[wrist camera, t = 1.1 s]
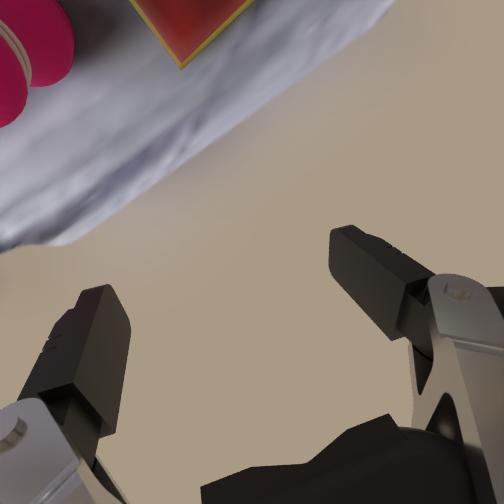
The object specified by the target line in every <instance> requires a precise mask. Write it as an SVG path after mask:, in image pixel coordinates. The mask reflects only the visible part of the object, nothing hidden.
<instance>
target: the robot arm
mask: <svg viewBox="0 0 504 504" xmlns="http://www.w3.org/2000/svg"><path fill="white" fill-rule="evenodd" d="M329 269H330V272H331V274H332V276H333V278H334V279H335V280H336V281H337V282H338V283H339V284H340V286H341V287H343V289H344V290H345V291H346V292H347V293H348V294H349V295H350V296H351V298H352V299H353V300H354V301H355V302H356V303H357V304H358V305H359V306H360V307H361V308H362V310H363V311H364V312H365V313H366V314H367V315H368V316H369V317H370V318H371V319H372V320H373V322H374V323H375V324H376V325H377V326H378V327H379V328H380V329H381V330H382V331H383V332H384V333H385V335H386V336H387V337H388V338H389V339H390V340H391V341H393V340H396V339H399V338H402V337H406V338H407V339H409V341H410V342H409V345H408V354H409V363H410V373H411V382H412V392H413V415H412V427H411V428H410V427H398V426H397V424H396V423H395V422H394V420H393V419H392V417H391V416H390V414H386V415H383V416H380V417H378V418H375V419H373V420H370V421H368V422H365V423H362V424H360V425H357V426H355V427H352V428H350V429H347V430H346V431H345V432H344V433H342V434H341V435H340V436H339V437H337V438H336V439H335V440H334V441H333V442H332V443H331V444H329V445H328V446H327V447H326V448H325V449H323V450H322V451H321V452H320V453H319V454H318V455H316V456H315V457H314V458H313V459H312V460H310V461H309V462H307V463H304V464H295V465H294V464H293V465H277V466H259V467H250V468H247V469H245V470H242V471H240V472H237V473H234V474H232V475H229V476H227V477H224V478H222V479H219V480H217V481H214V482H211V483H209V484H206V485H204V486H201V487H200V489H201V501H202V504H504V287H484V286H483V285H482V284H480V283H479V282H477V281H475V280H473V279H470V278H468V277H465V276H461V275H456V274H438V275H436V274H434V273H433V272H431V271H430V270H428V269H427V268H425V267H424V266H422V265H421V264H419V263H418V262H416V261H415V260H413V259H412V258H410V257H409V256H407V255H406V254H404V253H403V254H402V253H401V251H400V250H398V249H397V248H395V247H392V245H391V244H389V243H388V242H386V241H385V240H383V239H381V238H379V237H375V236H373V235H370V234H366V233H364V232H363V231H361V230H360V229H359V228H357V227H356V226H354V225H347V226H343V227H339V228H335V229H332V230H331V233H330V243H329ZM130 337H131V327H130V322H129V318H128V316H127V314H126V312H125V310H124V309H123V306H122V305H121V303H120V301H119V299H118V297H117V295H116V293H115V291H114V289H113V288H112V286H111V285H109V284H106V285H102V286H98V287H94V288H90V289H86V290H83V291H82V292H81V294H80V296H79V298H78V301H77V303H76V305H75V307H74V309H69V310H68V311H67V312H66V313H65V314H64V315H63V316H62V317H61V318H60V319H59V320H58V321H57V322H56V323H55V325H54V327H53V329H52V331H51V333H50V335H49V337H48V338H49V340H47V341H46V343H45V345H44V347H43V349H42V350H43V352H42V353H40V355H39V357H38V359H37V361H36V363H35V365H34V367H33V369H32V371H31V373H30V375H29V377H28V379H27V381H26V383H25V385H24V387H23V389H22V391H21V393H20V395H19V397H18V399H17V401H16V402H14V403H12V404H10V405H8V406H6V407H5V408H3V409H2V410H0V504H130V503H129V501H128V500H127V498H126V497H125V495H124V494H123V492H122V491H121V489H120V488H119V486H118V485H117V483H116V482H115V480H114V479H113V478H112V476H111V475H110V473H109V472H108V470H107V468H106V467H105V466H104V464H103V463H102V461H101V460H100V458H99V457H98V456H97V455H96V449H97V445H98V440H99V438H102V437H105V436H108V435H111V434H114V433H115V432H116V426H117V419H118V413H119V407H120V400H121V394H122V388H123V381H124V374H125V369H126V362H127V356H128V350H129V343H130Z"/></svg>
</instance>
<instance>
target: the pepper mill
mask: <svg viewBox="0 0 504 504" xmlns="http://www.w3.org/2000/svg"><path fill="white" fill-rule="evenodd" d="M74 45H75V39H74V32H73V29H72V26H71V23H70V21H69V18H68V16H67V15H66V13H65V11H64V10H63V8H62V7H61V6H60V4H59V3H58V2H57V1H56V0H0V128H1V127H4V126H6V125H8V124H10V123H11V122H12V121H14V120H15V119H16V118H17V117H18V116H19V115H20V114H21V112H22V111H23V109H24V107H25V105H26V100H27V95H28V90H27V89H28V87H43V86H49V85H52V84H54V83H56V82H58V81H60V80H61V79H63V78H64V77H65V76H66V75H67V74H68V72H69V71H70V69H71V67H72V63H73V58H74Z"/></svg>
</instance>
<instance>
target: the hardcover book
mask: <svg viewBox="0 0 504 504" xmlns="http://www.w3.org/2000/svg"><path fill="white" fill-rule="evenodd" d="M129 1H130V2H131V4H132V5H133V6H134V8H135V9H136V10H137V12H138V13H139V14H140V16H141V17H142V18H143V20H144V21H145V23H146V24H147V25H148V27H149V28H150V29H151V31H152V32H153V33H154V35H155V36H156V37H157V39H158V40H159V41H160V43H161V44H162V45H163V47H164V48H165V49H166V51H167V52H168V53H169V55H170V56H171V57H172V59H173V60H174V61H175V63H176V64H177V65H178V67H179V68H180V69H181V70H182V69H183V68H184V67H185V66H186V65H187V64H188V63H189V62H190V61H192V60H193V59H194V58H195V57H196V56H197V55H198V54H199V53H200V52H201V51H202V50H203V49H204V48H205V47H206V46H207V45H208V44H209V43H210V42H211V41H212V40H213V39H215V38H216V37H217V36H218V35H219V34H220V33H221V32H222V31H223V30H224V29H225V28H226V27H227V26H228V25H229V24H230V23H231V22H232V21H233V20H234V19H235V18H236V17H238V16H239V15H240V14H241V13H242V12H243V11H244V10H245V9H246V8H247V7H248V6H249V5H250V4H251V3H252V2H253V1H254V0H129Z"/></svg>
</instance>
